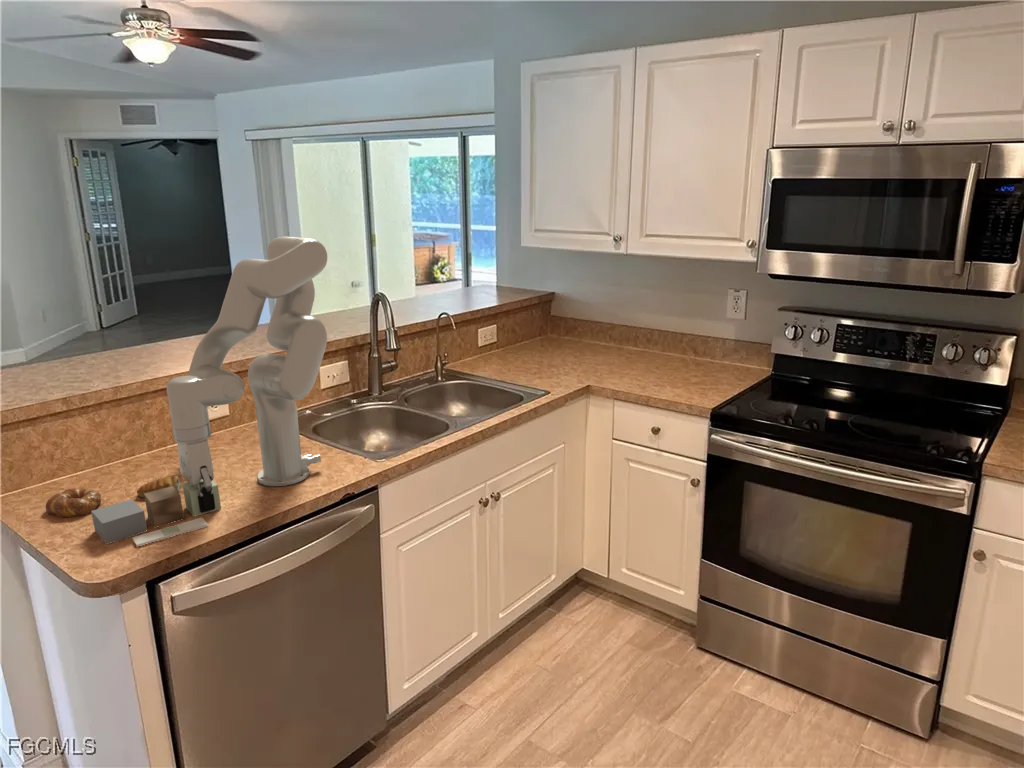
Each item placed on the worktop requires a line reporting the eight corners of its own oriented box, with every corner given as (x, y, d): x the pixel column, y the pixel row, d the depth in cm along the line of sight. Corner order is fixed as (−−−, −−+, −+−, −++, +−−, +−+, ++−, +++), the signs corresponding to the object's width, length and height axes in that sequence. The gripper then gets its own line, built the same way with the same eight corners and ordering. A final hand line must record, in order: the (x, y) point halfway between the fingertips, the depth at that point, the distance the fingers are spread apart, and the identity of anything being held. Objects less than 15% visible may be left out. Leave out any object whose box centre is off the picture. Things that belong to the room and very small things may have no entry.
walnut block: (176, 510, 161) (172, 486, 159) (184, 519, 157) (180, 494, 155) (148, 518, 157) (143, 493, 156) (155, 528, 153) (150, 502, 151)
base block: (135, 519, 157) (131, 499, 156) (147, 531, 152) (143, 510, 150) (95, 532, 152) (91, 511, 150) (106, 545, 146) (102, 523, 145)
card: (202, 519, 156) (201, 517, 156) (207, 526, 153) (207, 523, 153) (132, 540, 148) (132, 537, 148) (137, 547, 145) (136, 544, 145)
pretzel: (112, 507, 163) (109, 493, 162) (59, 525, 155) (56, 510, 154) (91, 493, 170) (89, 479, 169) (40, 509, 162) (37, 495, 161)
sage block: (213, 500, 166) (209, 476, 164) (221, 509, 161) (217, 485, 160) (186, 507, 162) (182, 483, 161) (193, 516, 158) (189, 492, 156)
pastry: (137, 502, 165) (134, 487, 164) (139, 491, 171) (136, 477, 170) (181, 495, 169) (178, 480, 168) (181, 484, 175) (179, 470, 174)
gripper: (163, 425, 161) (175, 497, 166) (185, 446, 148) (197, 523, 153) (198, 418, 165) (208, 488, 170) (222, 438, 152) (232, 513, 157)
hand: (203, 504), depth 162 cm, fingers open, 6 cm apart
